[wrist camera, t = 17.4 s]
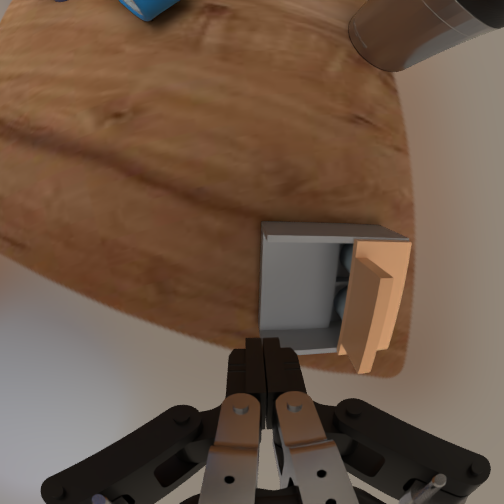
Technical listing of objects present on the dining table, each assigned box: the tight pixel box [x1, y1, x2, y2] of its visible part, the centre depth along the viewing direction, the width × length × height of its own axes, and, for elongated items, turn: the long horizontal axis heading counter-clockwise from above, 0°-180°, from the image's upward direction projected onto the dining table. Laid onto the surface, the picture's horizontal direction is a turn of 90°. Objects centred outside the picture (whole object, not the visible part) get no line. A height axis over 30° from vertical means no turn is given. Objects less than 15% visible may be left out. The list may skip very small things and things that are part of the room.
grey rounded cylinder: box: [334, 286, 348, 320], centre depth 30 cm, size 4×4×5 cm
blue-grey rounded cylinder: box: [340, 243, 354, 273], centre depth 28 cm, size 4×4×5 cm
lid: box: [336, 239, 412, 374], centre depth 23 cm, size 6×12×6 cm, turn 179°
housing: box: [258, 221, 409, 355], centre depth 29 cm, size 14×12×7 cm
